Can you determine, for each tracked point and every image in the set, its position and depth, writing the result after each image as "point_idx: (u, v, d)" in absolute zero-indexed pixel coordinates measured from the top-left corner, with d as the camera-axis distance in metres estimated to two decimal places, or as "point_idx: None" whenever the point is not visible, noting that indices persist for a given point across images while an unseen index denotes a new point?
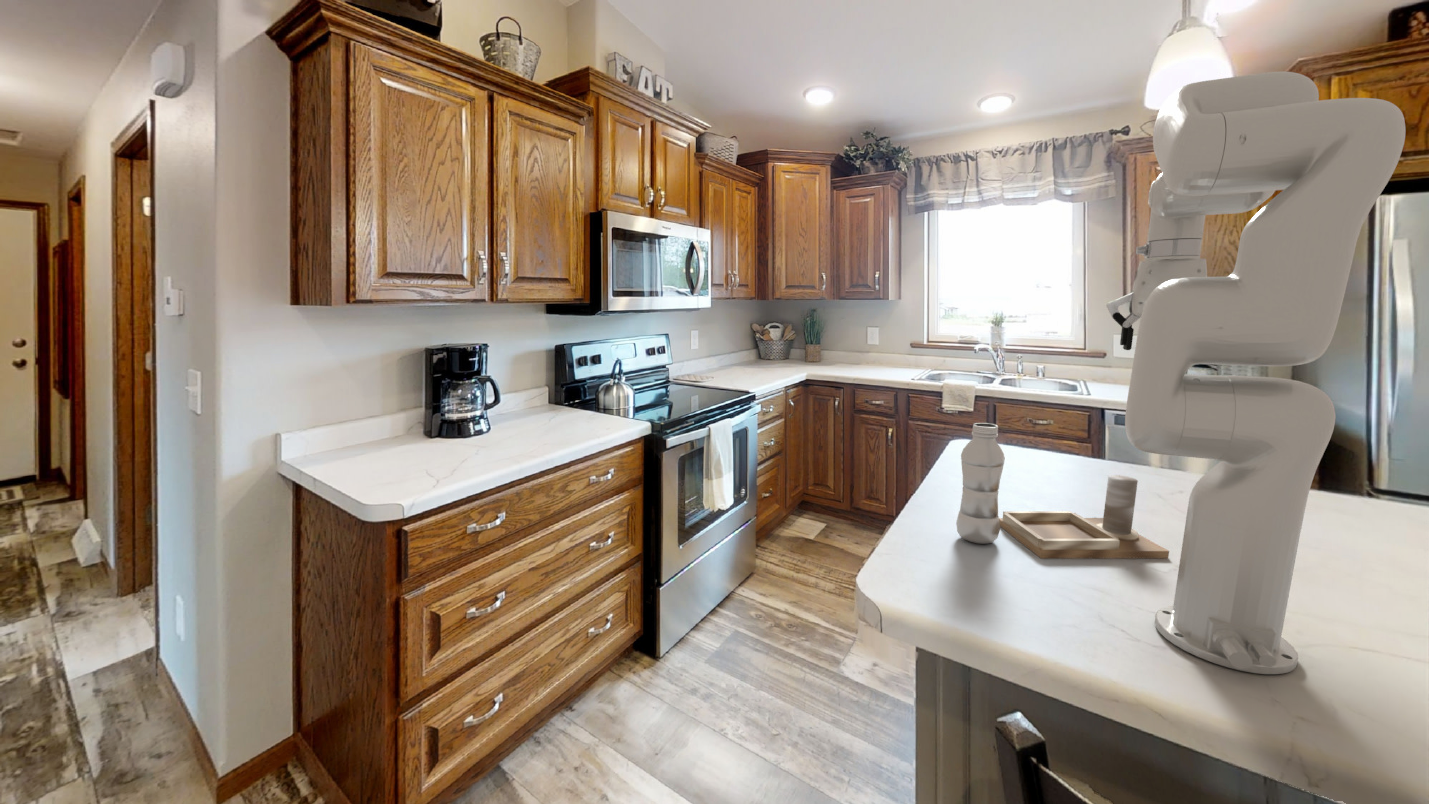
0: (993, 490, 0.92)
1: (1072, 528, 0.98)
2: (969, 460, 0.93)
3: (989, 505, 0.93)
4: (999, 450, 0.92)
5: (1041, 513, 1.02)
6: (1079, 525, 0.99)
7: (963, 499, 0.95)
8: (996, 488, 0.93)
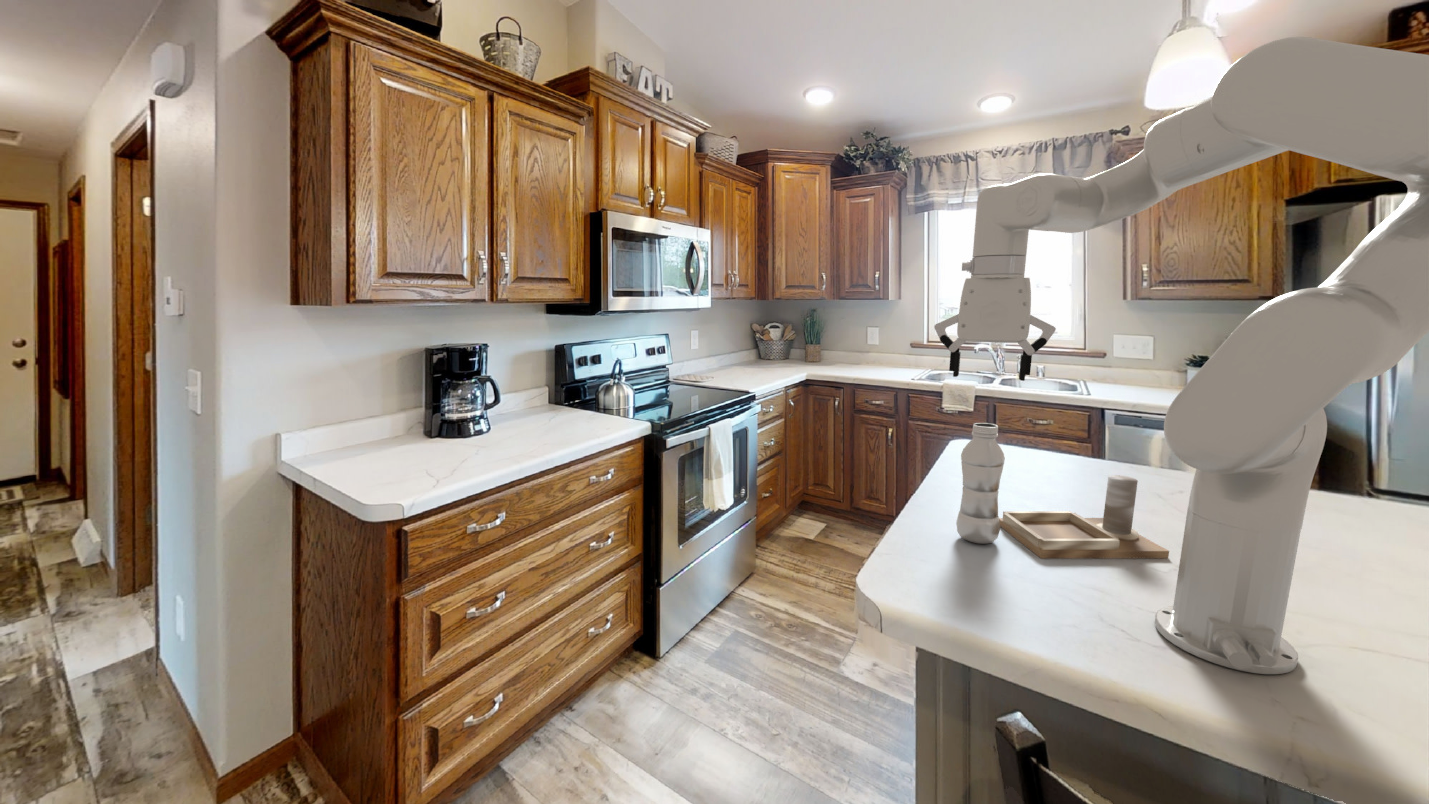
0: (993, 490, 0.92)
1: (1072, 528, 0.98)
2: (969, 460, 0.93)
3: (989, 505, 0.93)
4: (999, 450, 0.92)
5: (1041, 513, 1.02)
6: (1079, 525, 0.99)
7: (963, 499, 0.95)
8: (996, 488, 0.93)
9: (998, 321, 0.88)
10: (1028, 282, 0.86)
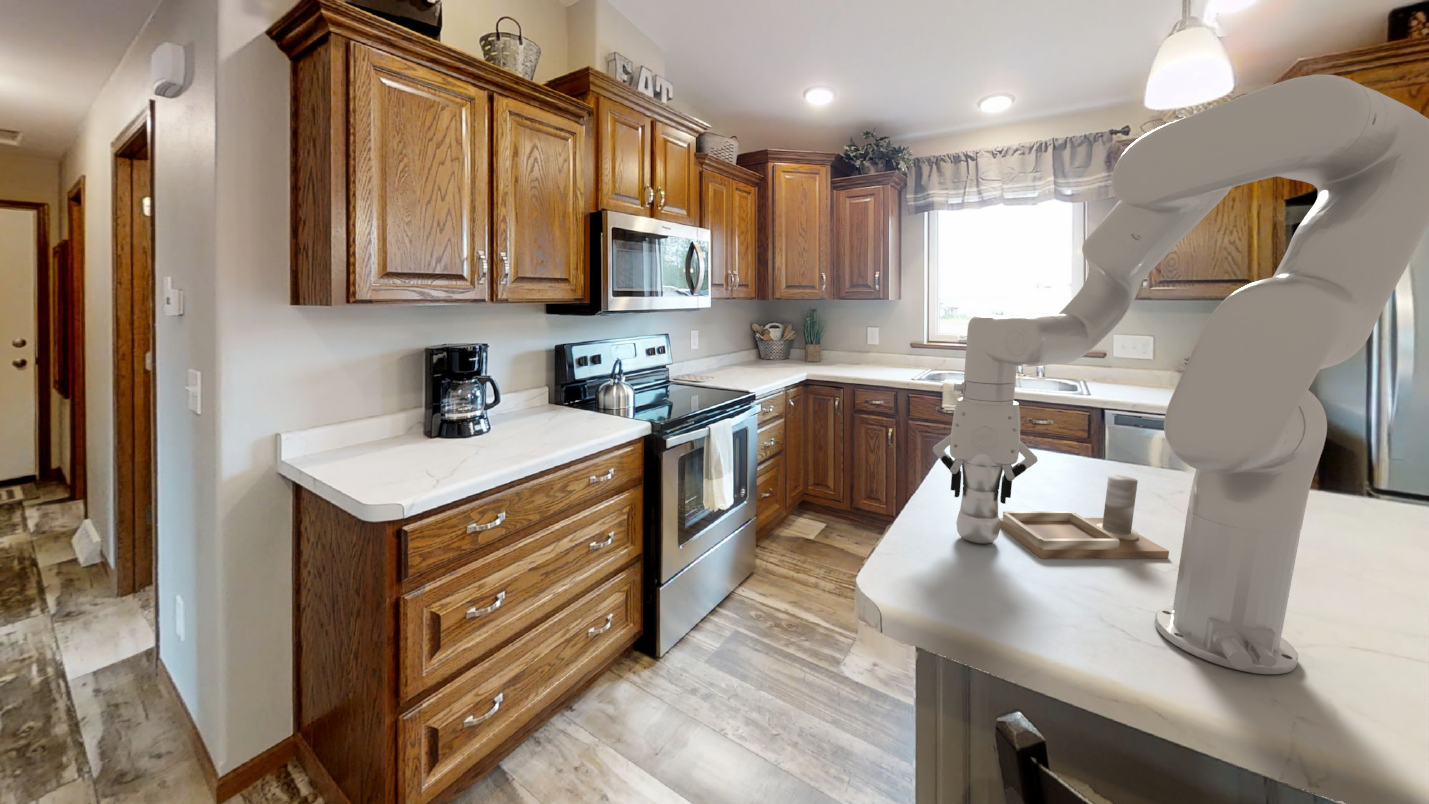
0: (993, 490, 0.92)
1: (1072, 528, 0.98)
2: None
3: (989, 505, 0.93)
4: None
5: (1041, 513, 1.02)
6: (1079, 525, 0.99)
7: (963, 499, 0.95)
8: (996, 488, 0.93)
9: (988, 444, 0.91)
10: (1017, 408, 0.89)
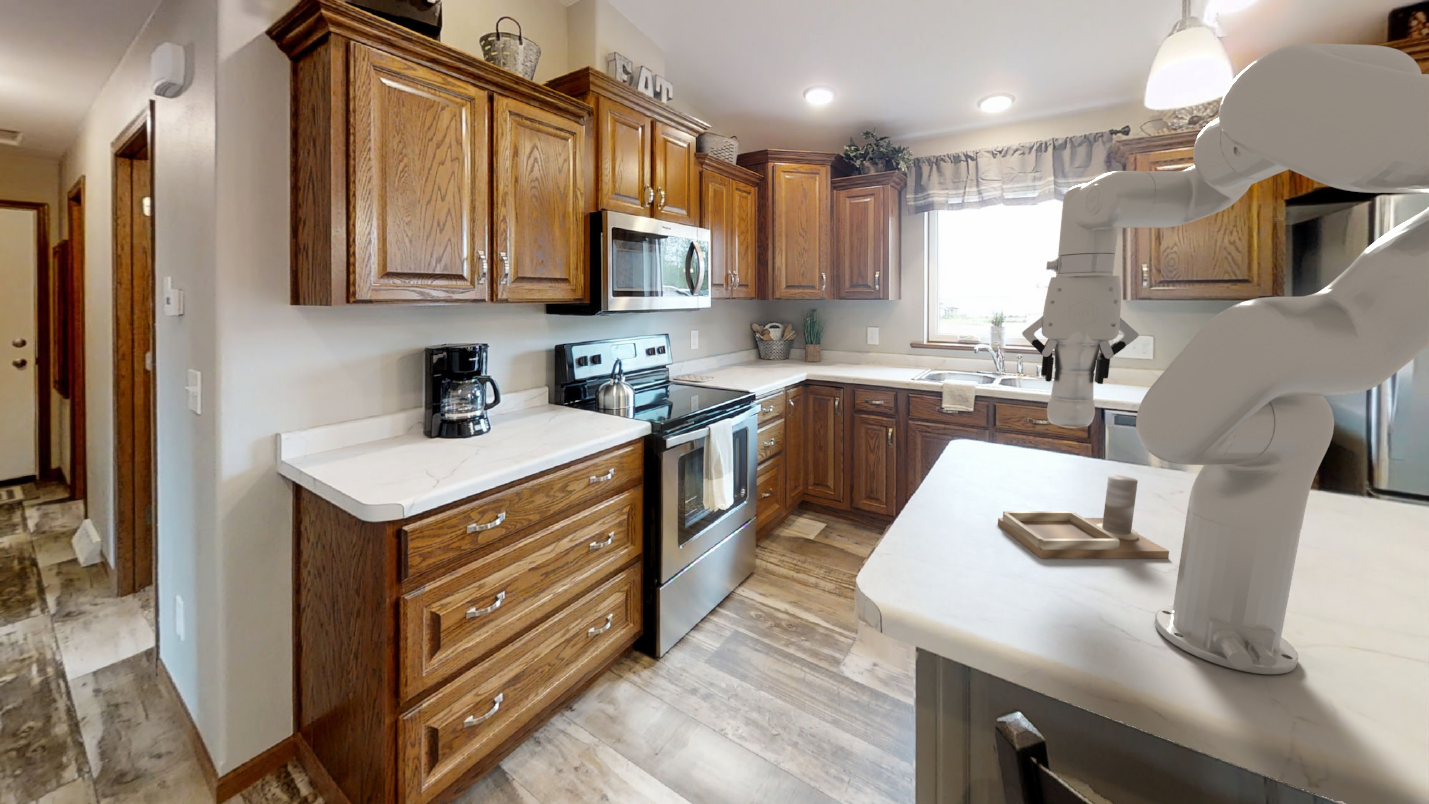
0: (1090, 370, 0.89)
1: (1072, 528, 0.98)
2: None
3: (1085, 386, 0.89)
4: None
5: (1041, 513, 1.02)
6: (1079, 525, 0.99)
7: (1056, 383, 0.92)
8: (1093, 368, 0.89)
9: (1087, 320, 0.87)
10: (1118, 280, 0.86)
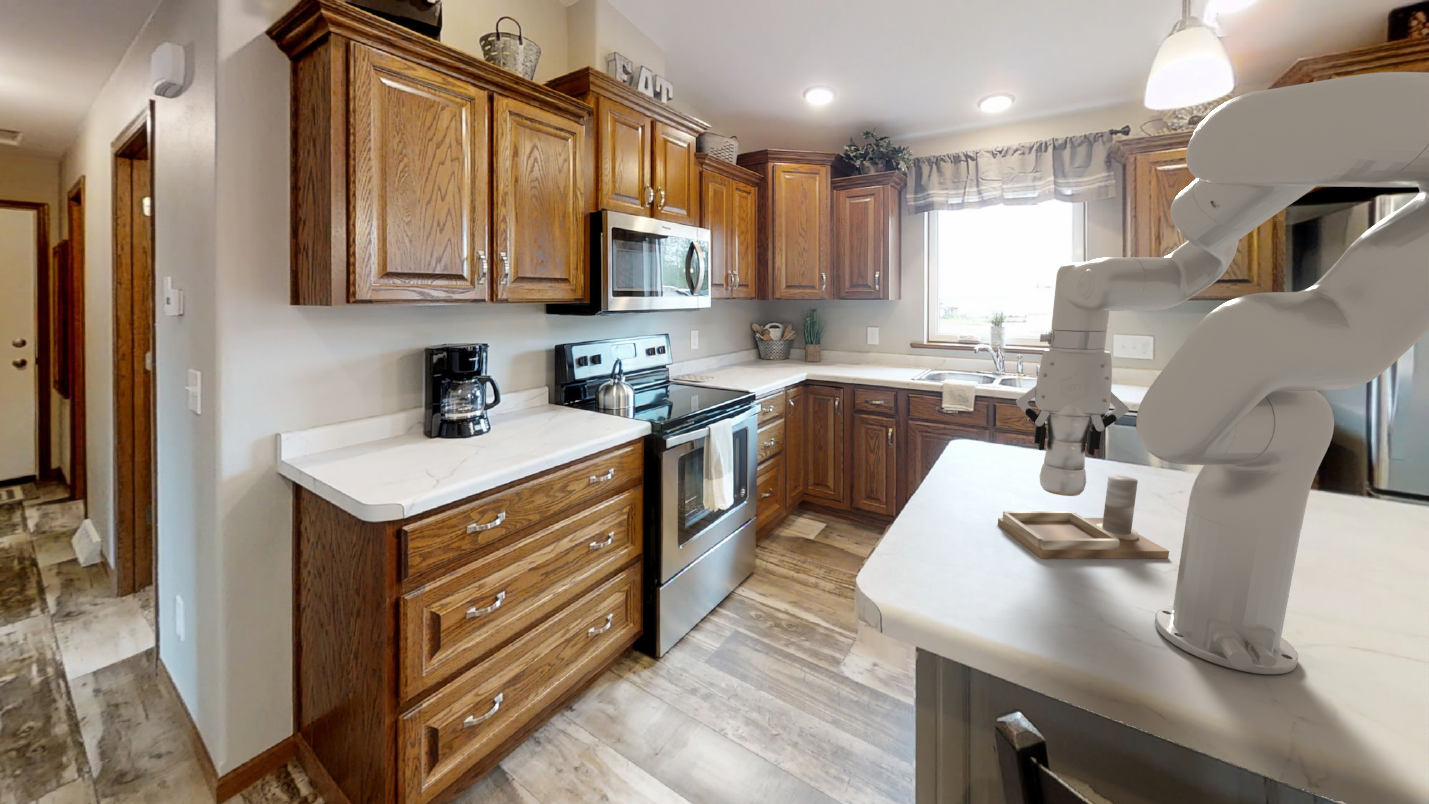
0: (1082, 441, 0.91)
1: (1072, 528, 0.98)
2: None
3: (1077, 457, 0.92)
4: None
5: (1041, 513, 1.02)
6: (1079, 525, 0.99)
7: (1048, 451, 0.94)
8: (1084, 439, 0.91)
9: (1078, 394, 0.89)
10: (1110, 357, 0.88)
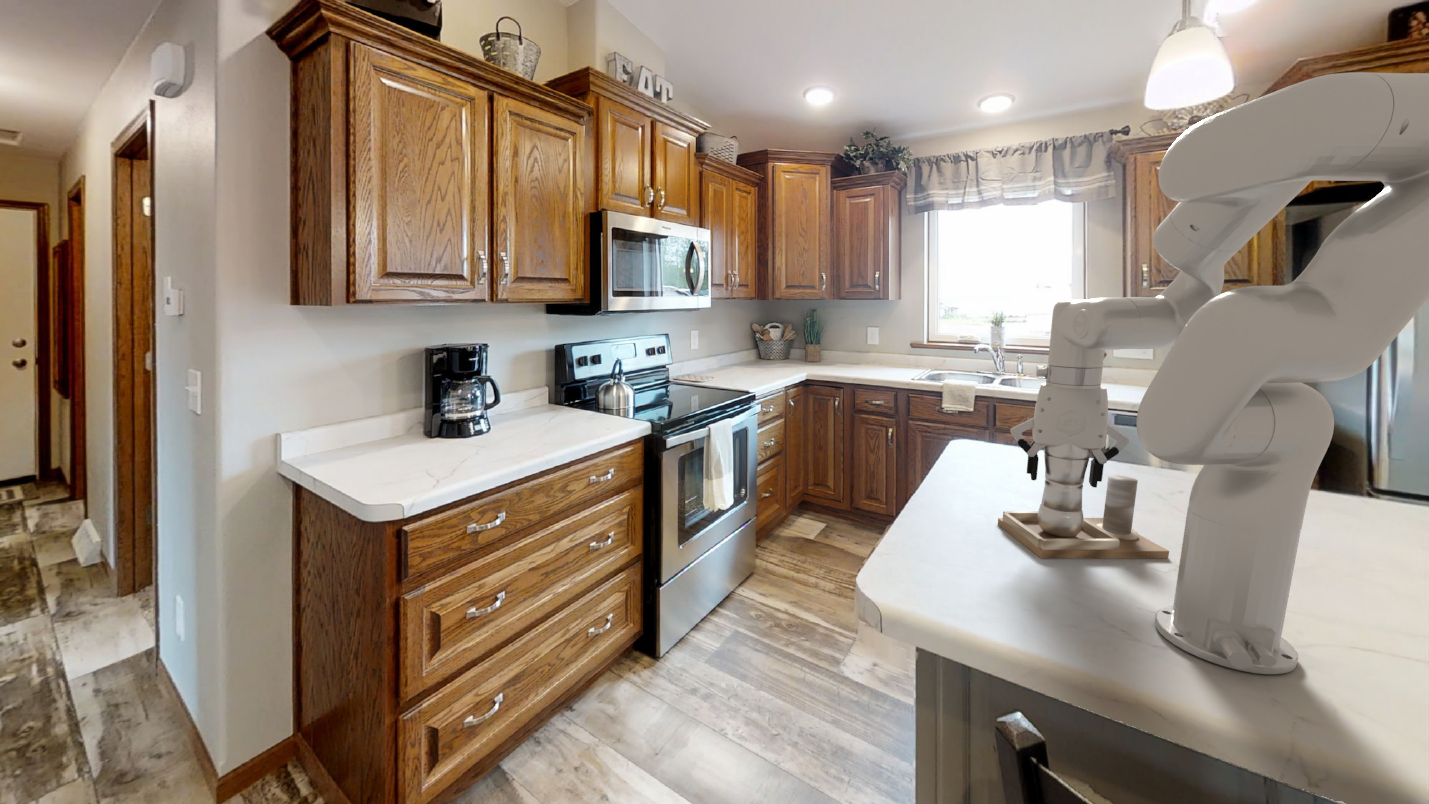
0: (1079, 483, 0.92)
1: None
2: (1054, 453, 0.92)
3: (1074, 499, 0.92)
4: None
5: None
6: None
7: (1046, 492, 0.95)
8: (1082, 481, 0.92)
9: (1075, 429, 0.90)
10: (1106, 393, 0.89)
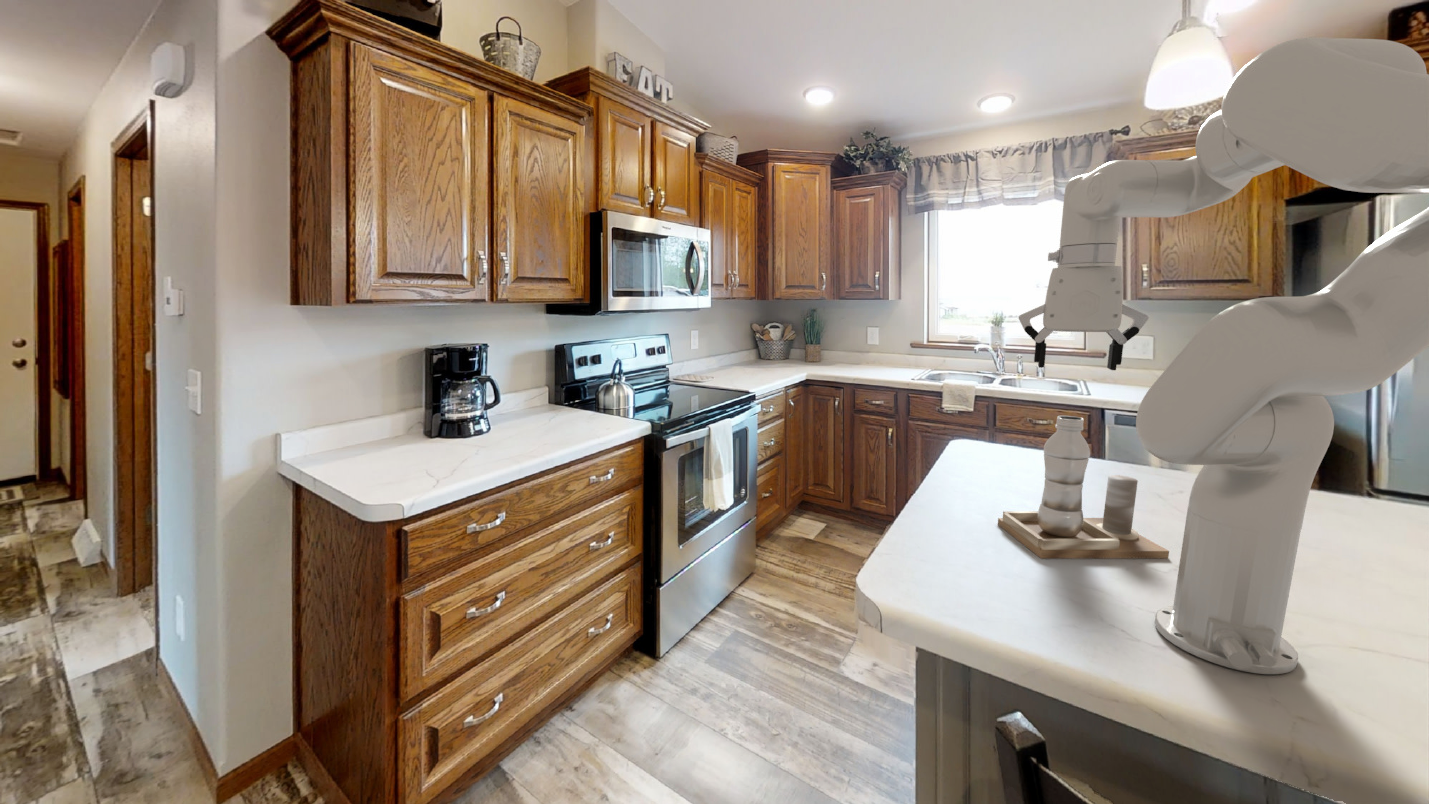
0: (1078, 483, 0.92)
1: None
2: (1054, 453, 0.92)
3: (1074, 498, 0.92)
4: (1085, 443, 0.91)
5: None
6: None
7: (1046, 492, 0.95)
8: (1081, 481, 0.92)
9: (1088, 310, 0.87)
10: (1120, 270, 0.85)
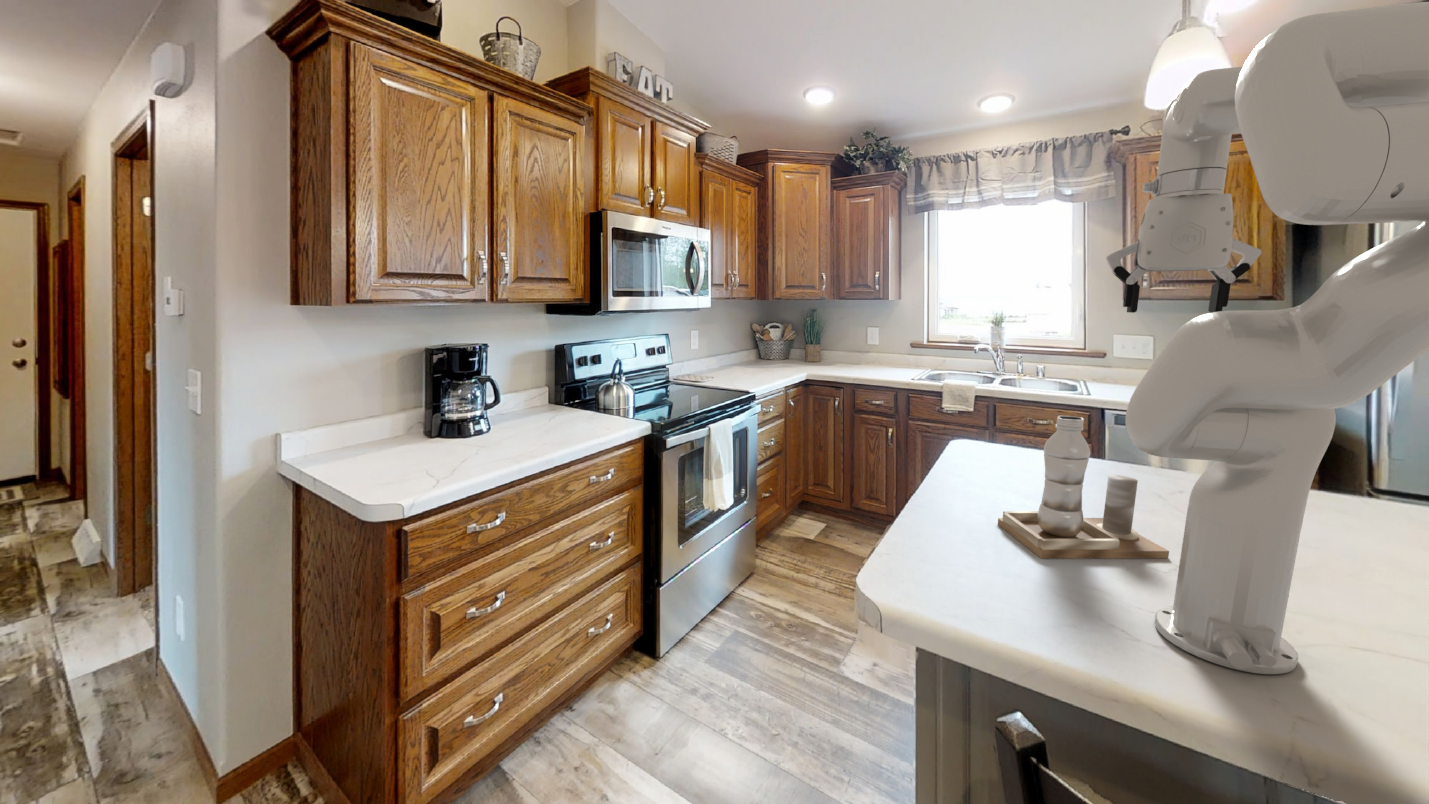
0: (1079, 483, 0.92)
1: None
2: (1054, 453, 0.92)
3: (1074, 499, 0.92)
4: (1085, 443, 0.91)
5: None
6: None
7: (1046, 492, 0.95)
8: (1081, 481, 0.92)
9: (1192, 245, 0.78)
10: (1231, 199, 0.76)
